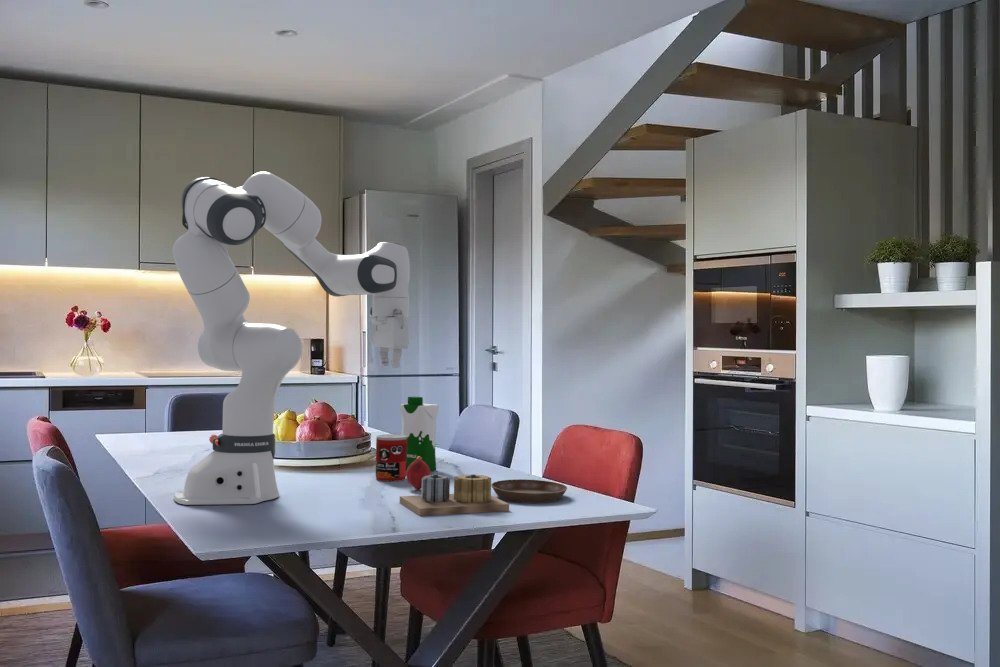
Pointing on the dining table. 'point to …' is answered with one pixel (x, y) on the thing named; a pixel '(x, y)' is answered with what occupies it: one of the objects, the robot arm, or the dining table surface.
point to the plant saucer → (529, 490)
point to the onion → (417, 472)
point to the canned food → (391, 457)
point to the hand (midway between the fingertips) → (389, 366)
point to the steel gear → (435, 488)
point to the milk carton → (420, 430)
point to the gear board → (451, 506)
